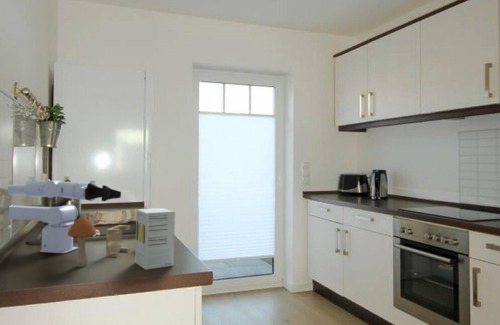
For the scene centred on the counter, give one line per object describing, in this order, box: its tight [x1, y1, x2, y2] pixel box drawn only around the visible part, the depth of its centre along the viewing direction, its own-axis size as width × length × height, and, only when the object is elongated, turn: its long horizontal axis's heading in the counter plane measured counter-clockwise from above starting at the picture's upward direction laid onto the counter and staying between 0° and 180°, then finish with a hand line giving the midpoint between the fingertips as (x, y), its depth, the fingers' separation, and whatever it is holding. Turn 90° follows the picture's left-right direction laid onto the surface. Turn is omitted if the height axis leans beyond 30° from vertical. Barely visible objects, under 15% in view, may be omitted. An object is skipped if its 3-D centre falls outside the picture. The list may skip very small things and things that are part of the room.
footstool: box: [105, 224, 131, 258], centre depth 130 cm, size 4×9×9 cm, turn 171°
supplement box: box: [134, 207, 176, 271], centre depth 117 cm, size 10×9×17 cm
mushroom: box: [68, 216, 97, 268], centre depth 113 cm, size 8×8×15 cm
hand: (115, 194), depth 129 cm, fingers open, 7 cm apart
